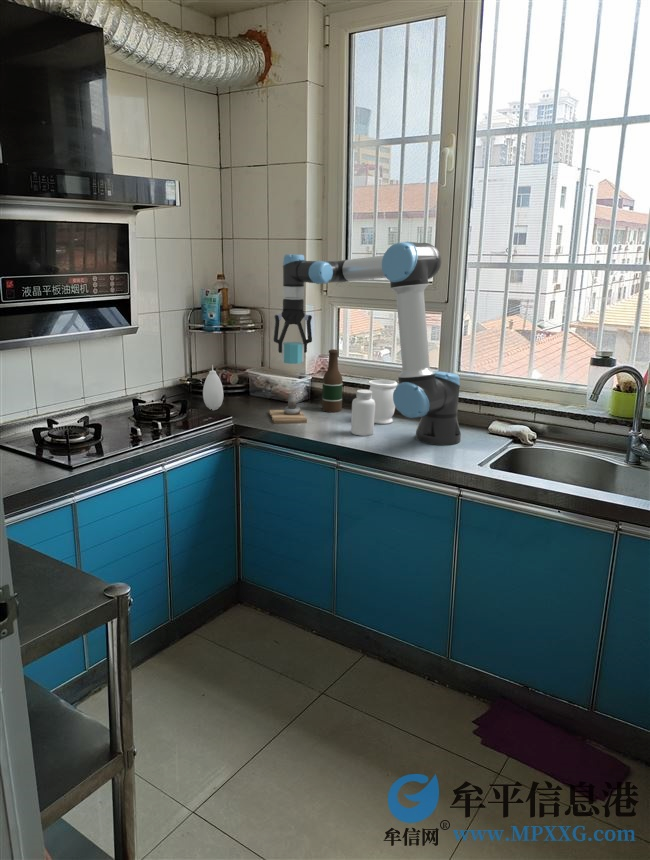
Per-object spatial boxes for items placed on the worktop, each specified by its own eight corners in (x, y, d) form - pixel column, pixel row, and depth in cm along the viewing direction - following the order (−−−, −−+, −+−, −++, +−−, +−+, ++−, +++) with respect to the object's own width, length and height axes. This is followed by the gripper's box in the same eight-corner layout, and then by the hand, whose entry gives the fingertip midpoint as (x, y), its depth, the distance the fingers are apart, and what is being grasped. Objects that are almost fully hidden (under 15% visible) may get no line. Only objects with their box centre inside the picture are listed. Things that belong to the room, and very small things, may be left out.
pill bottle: (372, 437, 227) (374, 394, 223) (349, 435, 229) (350, 392, 225) (375, 431, 235) (377, 389, 231) (352, 429, 236) (354, 388, 232)
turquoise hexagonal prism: (302, 363, 244) (303, 344, 242) (284, 363, 243) (284, 344, 241) (300, 360, 251) (300, 341, 249) (282, 360, 249) (282, 342, 247)
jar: (361, 420, 248) (363, 381, 244) (380, 416, 255) (382, 378, 251) (382, 426, 241) (384, 385, 237) (401, 422, 247) (403, 382, 244)
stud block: (306, 422, 244) (307, 399, 241) (274, 423, 241) (274, 400, 239) (300, 412, 259) (300, 390, 257) (269, 412, 257) (269, 390, 254)
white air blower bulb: (203, 407, 262) (202, 362, 258) (223, 407, 264) (222, 362, 259) (203, 412, 255) (202, 366, 250) (224, 412, 256) (223, 365, 252)
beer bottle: (322, 407, 267) (323, 348, 261) (341, 408, 267) (343, 348, 260) (321, 412, 260) (322, 351, 253) (341, 412, 259) (343, 351, 253)
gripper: (318, 297, 246) (316, 359, 252) (265, 297, 242) (265, 359, 248) (321, 299, 239) (320, 363, 245) (267, 298, 235) (267, 363, 241)
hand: (292, 361), depth 247 cm, fingers closed on turquoise hexagonal prism, 7 cm apart
